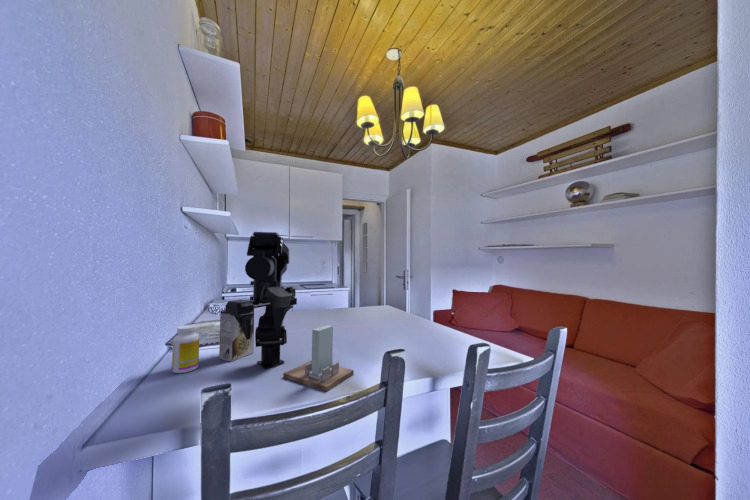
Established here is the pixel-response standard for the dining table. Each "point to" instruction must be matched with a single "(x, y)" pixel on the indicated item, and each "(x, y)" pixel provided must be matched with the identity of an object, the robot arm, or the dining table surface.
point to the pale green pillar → (321, 350)
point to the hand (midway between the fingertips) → (263, 335)
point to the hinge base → (328, 379)
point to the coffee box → (234, 338)
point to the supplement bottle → (185, 350)
